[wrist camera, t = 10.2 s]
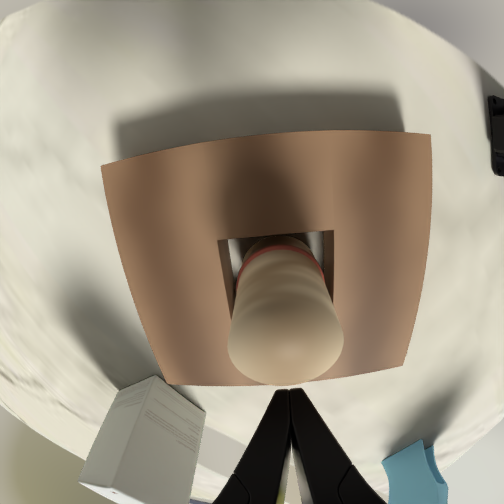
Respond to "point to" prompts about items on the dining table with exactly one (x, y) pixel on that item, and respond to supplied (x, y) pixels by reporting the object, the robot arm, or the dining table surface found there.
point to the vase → (415, 476)
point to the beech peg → (283, 315)
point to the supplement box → (146, 446)
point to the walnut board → (273, 223)
